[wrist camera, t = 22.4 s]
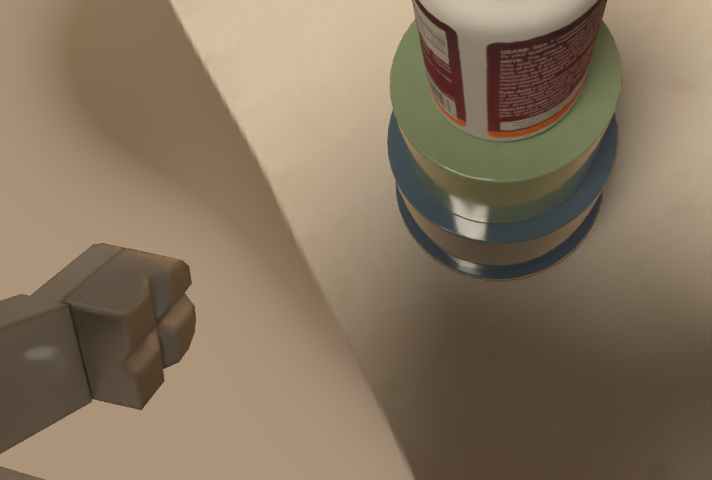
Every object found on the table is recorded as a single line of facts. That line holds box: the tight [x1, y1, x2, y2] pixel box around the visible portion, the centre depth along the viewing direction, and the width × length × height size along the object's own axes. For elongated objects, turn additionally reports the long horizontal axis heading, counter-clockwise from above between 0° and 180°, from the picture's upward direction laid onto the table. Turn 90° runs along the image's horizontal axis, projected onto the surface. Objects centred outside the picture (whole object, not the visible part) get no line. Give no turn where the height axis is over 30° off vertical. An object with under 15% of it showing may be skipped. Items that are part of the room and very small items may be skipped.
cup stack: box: [387, 19, 622, 281], centre depth 25 cm, size 9×9×10 cm
